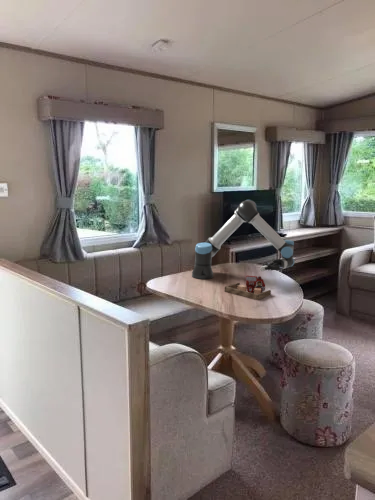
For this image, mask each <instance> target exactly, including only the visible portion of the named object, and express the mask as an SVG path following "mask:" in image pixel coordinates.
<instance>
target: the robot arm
mask: <svg viewBox="0 0 375 500" xmlns="http://www.w3.org/2000/svg"><path fill="white" fill-rule="evenodd" d="M243 223H248V224H251V225H252V226H253V227H254V228H255V229H256V230H257V231H258V232H259V233H260V234H261V235H262V236H264V238H265V239H266V240H267V241H268V242H269V243H270V244H272V246H273V247H274V248H275V249H276V250H277V251H278V252H279V253H280V254H281V258H276V259H274V260H273V261H272V262H270V263H269V262H268V261H265V263H263V264H262V266H260V268H259V271H260V272H264V271H280V270H284V269H287V268H291V267H293V266H294V265H295V263H296V262H295V257H293V255H294V249H295V247H294V246H295V242H294V240H291V239H283V238H282V237H281V236H280V234H278V232H276V230H275V229H274V228H273V227H272V226H270V225H269V223H267V221H265V219H263V218H262V216H260V213H259V211H258V205H257V203H256V202H255V201H254V200H252V199H246V200H243V201H241V202H240V203H239V205H238V206H237V208H236V209H235V210H234V214H233V215H232V216H231V217H230V218H229V219H228V220H227V221H226V222H225V223H224V224H223V225H222V227H220V228H219V230H218V231H217V232H215V233H214V235H213V236H212V237H208V238H207V239H206V240H205V241H204V242H198V243H196V245H195V248H194V251H195V252H194V253H195V254H194V256H195V257H194V267H193V269H192V272H191V277H192V278H193V279H194V278H195V279H200V280H209V279H212V278H214V272H213V268H212V258H213V257H215V255H216V254H217V253H218V252H219V251H220V250H221V246H222V245H223V244H224V243H225V242H226V240H228V239H229V238H230V236H231V235H232V234H233V233H235V231H237V230H238V229H239V227H240V226H241V225H242V224H243Z"/></svg>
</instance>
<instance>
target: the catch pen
mask: <svg viewBox="0 0 375 500" xmlns="http://www.w3.org/2000/svg"><path fill="white" fill-rule="evenodd" d="M238 285H241V284H240V282H236V283H232V284H230V285H226V286H224V292H227V293H229V294H234V295H237V296H240V297H244V298H248V299H252V300H256V301H259V300H261V299H264V298H267V297H268V296H269V297H270V296H271V293H272V290H271V289H269V290H265V291H262V293H260V294H254V292H253V293H250V292H248V291H247V290H246V291H242V290H238V289H237V288H238Z"/></svg>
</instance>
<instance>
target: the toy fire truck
mask: <svg viewBox="0 0 375 500" xmlns="http://www.w3.org/2000/svg"><path fill="white" fill-rule="evenodd" d="M245 286H247V290H246V292H250V293H254V288H261V293H263V292H265V291H266V284H265V281H264V279H263V278H262V276H261V275H259V276H256V275H246V276H245Z"/></svg>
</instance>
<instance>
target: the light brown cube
mask: <svg viewBox="0 0 375 500" xmlns="http://www.w3.org/2000/svg"><path fill="white" fill-rule="evenodd" d="M236 289H238V290H242V291H246V292H247V286H246V285H244V284H240V285H238V288H236Z"/></svg>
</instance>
